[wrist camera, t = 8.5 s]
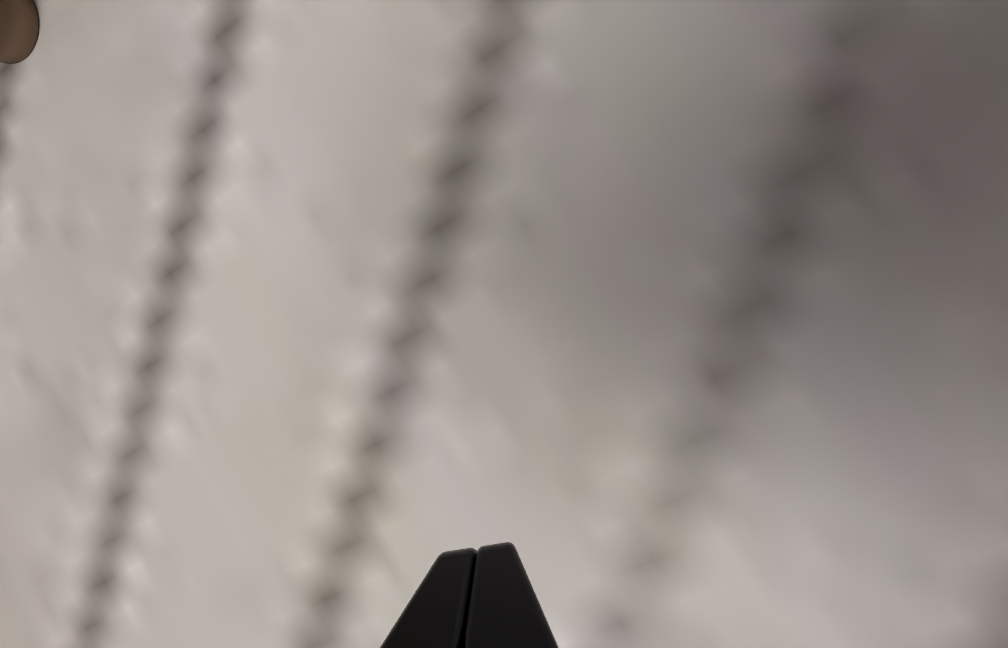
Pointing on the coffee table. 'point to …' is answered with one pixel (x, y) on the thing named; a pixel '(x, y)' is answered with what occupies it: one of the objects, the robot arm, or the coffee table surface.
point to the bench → (17, 30)
